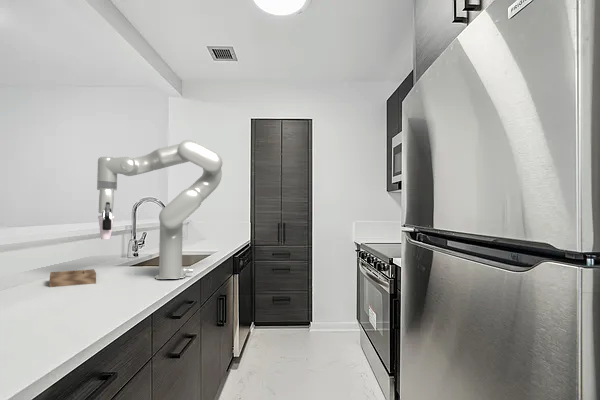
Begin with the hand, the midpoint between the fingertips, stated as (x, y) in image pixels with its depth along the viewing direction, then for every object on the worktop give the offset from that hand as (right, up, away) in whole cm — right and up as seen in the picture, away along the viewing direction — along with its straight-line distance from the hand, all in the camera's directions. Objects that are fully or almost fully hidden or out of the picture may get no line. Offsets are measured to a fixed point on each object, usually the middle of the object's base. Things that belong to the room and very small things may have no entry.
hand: (106, 229), depth 170 cm
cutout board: (-11, -21, -5) cm, 25 cm away
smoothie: (0, -4, 0) cm, 4 cm away
